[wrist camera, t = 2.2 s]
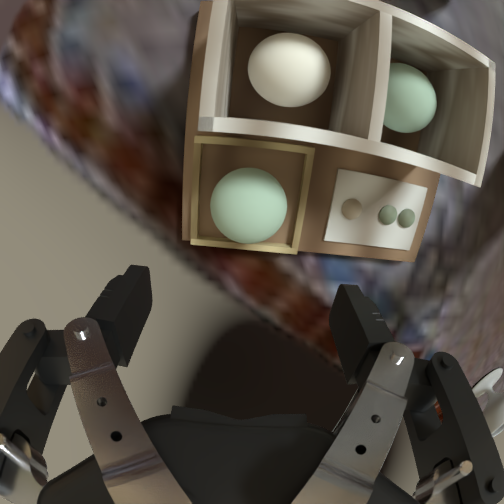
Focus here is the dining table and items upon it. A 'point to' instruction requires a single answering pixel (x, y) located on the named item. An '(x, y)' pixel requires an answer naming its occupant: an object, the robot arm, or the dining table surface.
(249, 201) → the sage ball
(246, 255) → the dining table surface
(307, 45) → the cream ball
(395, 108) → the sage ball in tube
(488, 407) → the chalice
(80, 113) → the dining table surface
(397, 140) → the sorting board
